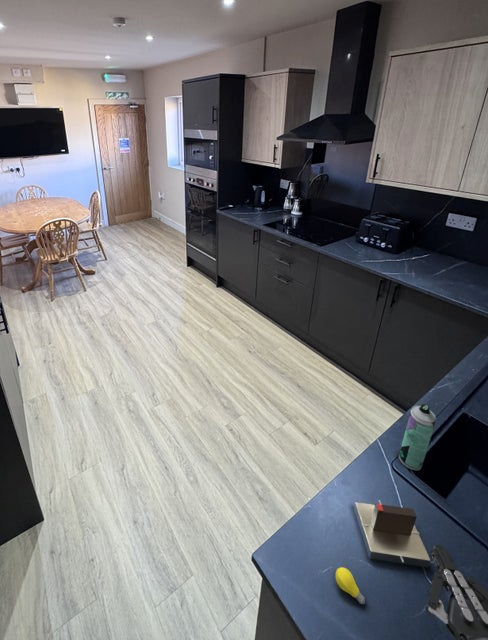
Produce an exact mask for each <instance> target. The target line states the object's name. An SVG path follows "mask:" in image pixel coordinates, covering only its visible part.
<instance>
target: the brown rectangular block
mask: <svg viewBox="0 0 488 640" xmlns="http://www.w3.org/2000/svg"><path fill="white" fill-rule="evenodd" d="M381 504H382V503H381ZM381 504H380V503H375V504H374V505H375V507H374V511H373V515H372V519H371V525H372V528H373V530H376V531H382V532H389V533H396V534H403V535H409V536H411V533H412V530H413V527H414V525H416V520H417V518H418V516H417V514H416V512H415V509H414V508H409V507H401V506H393V505H386V504H382V505H381Z"/></svg>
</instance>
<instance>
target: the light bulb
mask: <svg viewBox="0 0 488 640" xmlns="http://www.w3.org/2000/svg"><path fill="white" fill-rule="evenodd" d="M334 575H335V581H336V584H337V585H338V587H339V589H341V590H342V591H344V592H345V593H347V594H349V595H350V596H352V598H355V599H356V600H357V602H358V603H359V604H360V605H365V603H366V600H365V596H364V595H363V594H362V593H361V592H360V588H359V587H358V585H357V583H356V580H355V578H354V576H353V574H352V572H351V571H350V570H349V569H348V568H346V567H342V566H341V567H338V568H337V569H336V571H335V574H334Z"/></svg>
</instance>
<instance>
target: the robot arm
mask: <svg viewBox="0 0 488 640" xmlns="http://www.w3.org/2000/svg"><path fill="white" fill-rule="evenodd" d="M430 557H431V559H432V561H433V563H434V565H435V568H436V570H437V571H435V572H434V575H433V578H432V581H431V583H430V587H429V591H428V595H427V596H428V597H427V601H426V604H425V611H426V613H427V614H428V615H429V616H431V617H434V616H435V617H436V618H438V619H439V620H441V621H442V622H443V623H444V624H445V626H446V629H447V631H448V632H449V634H450V635H451V636H452V638H453V639H454V640H488V590H486V589H485V588H484V587H483V586H482V584H480V582H478V581H477V580H475V578H473V577H471V576H468V577H467V576H465V575H463V574H462V573H461V572H460V571H459V570H458V568H457V565H456V564H455V562H454V559H453V558H452V556H451V553H450V552H449V551H448V550H446V549H445V546H443V545H437V544H433V546H432V548H431V552H430ZM442 588H443V589H444V591H445V598H446V599H447V608H446V610H445V606H444V603H443V601H442V600H441V599H440V598H441V593H442Z"/></svg>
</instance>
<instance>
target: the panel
mask: <svg viewBox="0 0 488 640" xmlns="http://www.w3.org/2000/svg"><path fill="white" fill-rule="evenodd" d="M378 504H381V505H383V504H382V501H381V499H378ZM374 507H375V504H373V503H365V502H357V501H355V502H354V506H353V511H354V514H355V517H356V520H357V524H358V528H359V530H360V534H361V536H362V539H363V543H364V546H365V549H366V552H367V553H366V554H367V556H368V558H369V559H370V560H371V559H372V560H375V561H376V560H377V561H383V562H390V563H396V564H403V565H407V566H408V565H409V566H415V567H421V568H427V569H428V568H429V566H430V564H431V558H430V555H429V553H428V551H427V549H426V547H425V545H424V543H423V540H422V538H421V535H420V532H419V531H418V530H417V527H416V524H414V527H413V530H412V533H411V536H409V535H403V534H396V533H389V532H382V531H376V530H373V528H372V525H371V519H372V515H373V511H374Z"/></svg>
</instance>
